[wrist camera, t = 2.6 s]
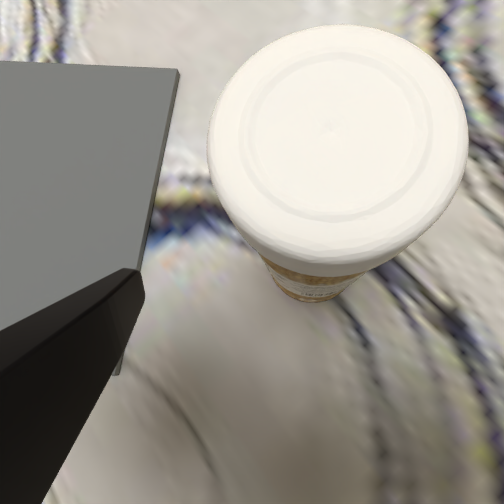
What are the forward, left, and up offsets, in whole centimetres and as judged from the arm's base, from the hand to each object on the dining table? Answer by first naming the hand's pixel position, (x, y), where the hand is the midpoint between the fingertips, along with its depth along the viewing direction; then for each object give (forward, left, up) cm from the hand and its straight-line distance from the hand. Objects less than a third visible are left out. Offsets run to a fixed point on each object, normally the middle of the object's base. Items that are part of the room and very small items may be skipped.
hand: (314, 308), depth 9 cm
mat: (-11, +15, -10) cm, 22 cm away
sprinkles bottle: (+2, +2, -10) cm, 11 cm away
